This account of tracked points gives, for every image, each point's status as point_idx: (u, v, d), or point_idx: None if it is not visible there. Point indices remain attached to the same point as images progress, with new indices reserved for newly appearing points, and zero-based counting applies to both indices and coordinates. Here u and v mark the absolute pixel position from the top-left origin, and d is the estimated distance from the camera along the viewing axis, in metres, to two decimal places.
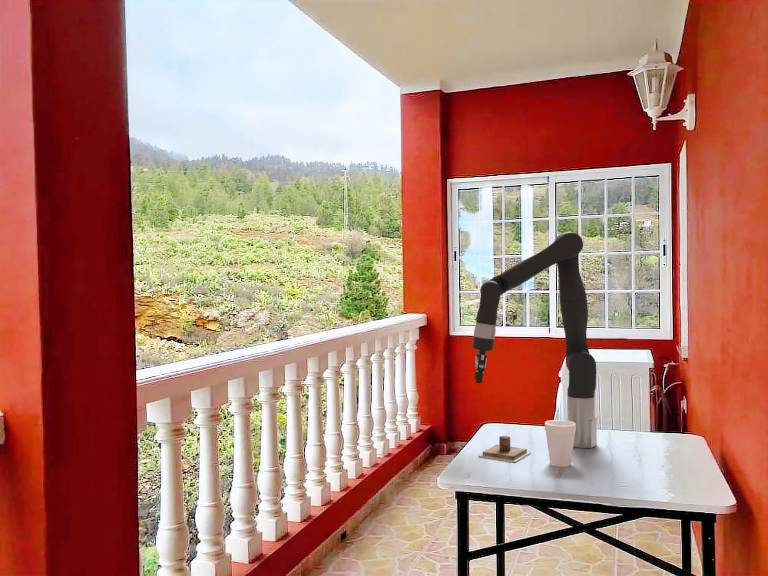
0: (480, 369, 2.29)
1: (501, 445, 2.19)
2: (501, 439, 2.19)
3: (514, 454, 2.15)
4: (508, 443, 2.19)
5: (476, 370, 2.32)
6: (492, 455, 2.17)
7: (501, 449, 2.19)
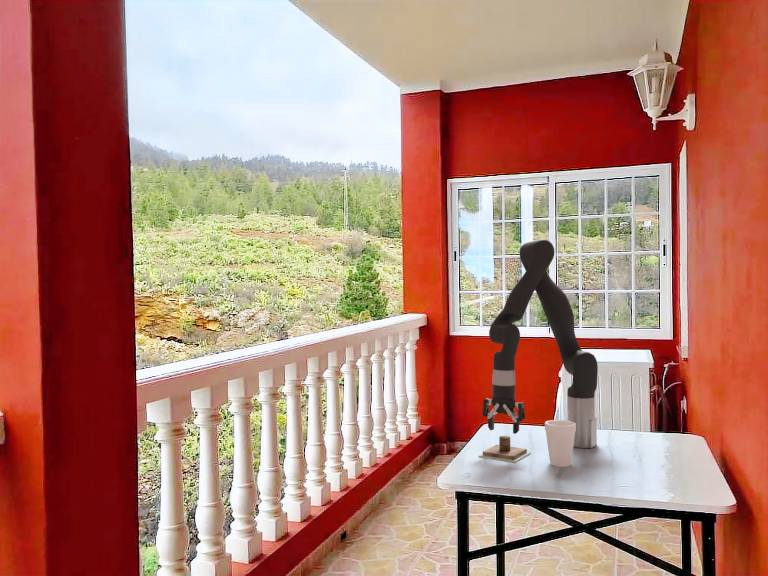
0: (523, 418, 2.16)
1: (501, 445, 2.19)
2: (501, 439, 2.19)
3: (514, 454, 2.15)
4: (508, 443, 2.19)
5: (515, 421, 2.17)
6: (492, 455, 2.17)
7: (501, 449, 2.19)
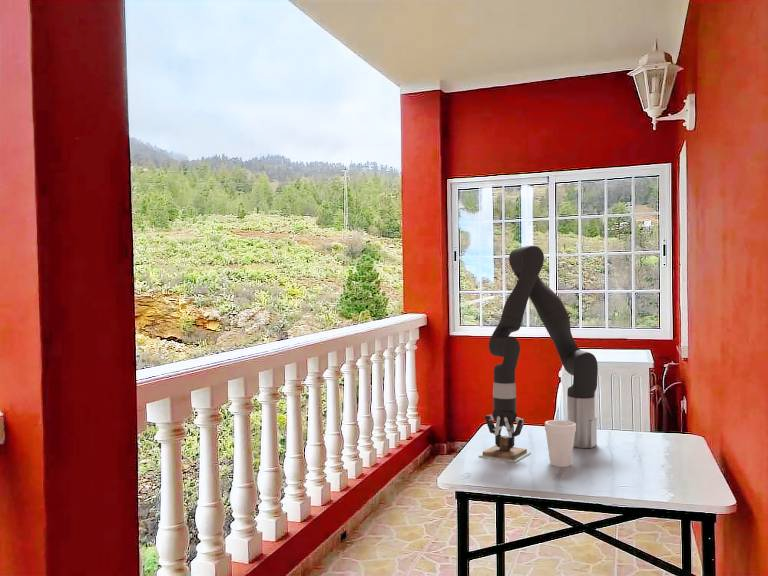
0: (518, 433, 2.18)
1: (501, 445, 2.19)
2: (501, 439, 2.19)
3: (514, 454, 2.15)
4: None
5: (510, 436, 2.18)
6: (492, 455, 2.17)
7: (501, 449, 2.19)
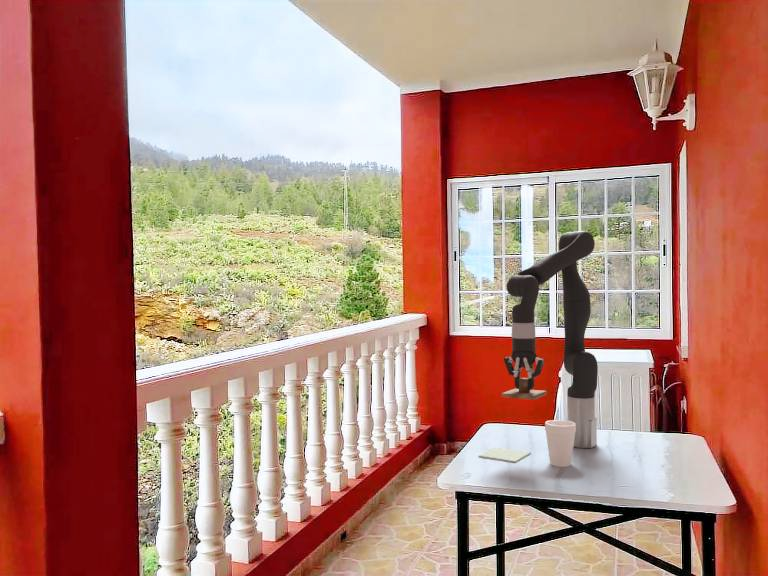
0: (537, 374, 2.14)
1: (520, 386, 2.15)
2: (520, 380, 2.15)
3: (534, 394, 2.11)
4: None
5: (530, 376, 2.14)
6: (511, 396, 2.13)
7: (520, 390, 2.15)
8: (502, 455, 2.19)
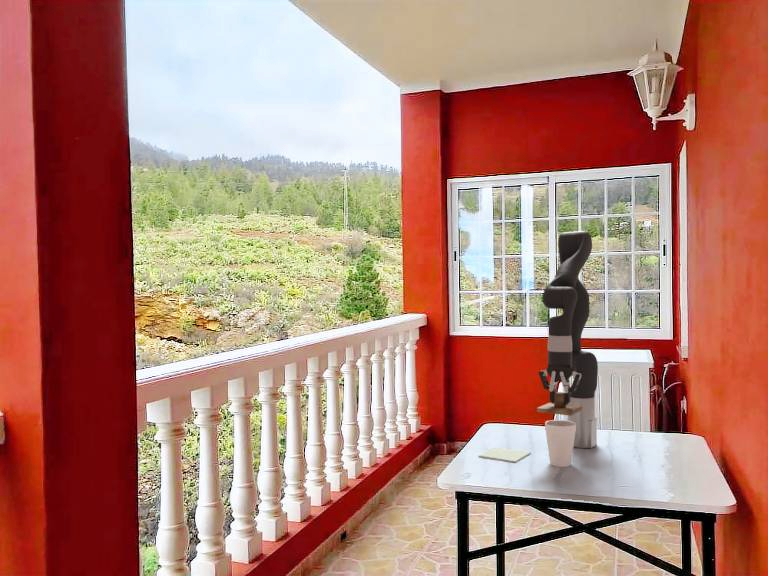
0: (574, 388, 2.07)
1: (556, 401, 2.08)
2: (556, 395, 2.08)
3: (571, 410, 2.04)
4: None
5: (566, 391, 2.07)
6: (547, 411, 2.06)
7: (556, 405, 2.08)
8: (502, 455, 2.19)
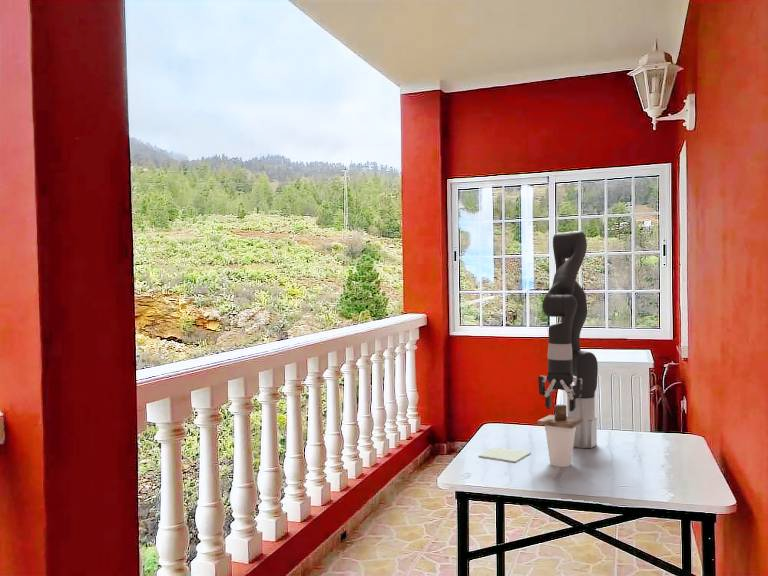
0: (580, 395, 2.06)
1: (557, 414, 2.08)
2: (557, 407, 2.08)
3: (572, 423, 2.04)
4: (564, 412, 2.08)
5: (571, 398, 2.06)
6: (548, 424, 2.06)
7: (557, 418, 2.08)
8: (502, 455, 2.19)
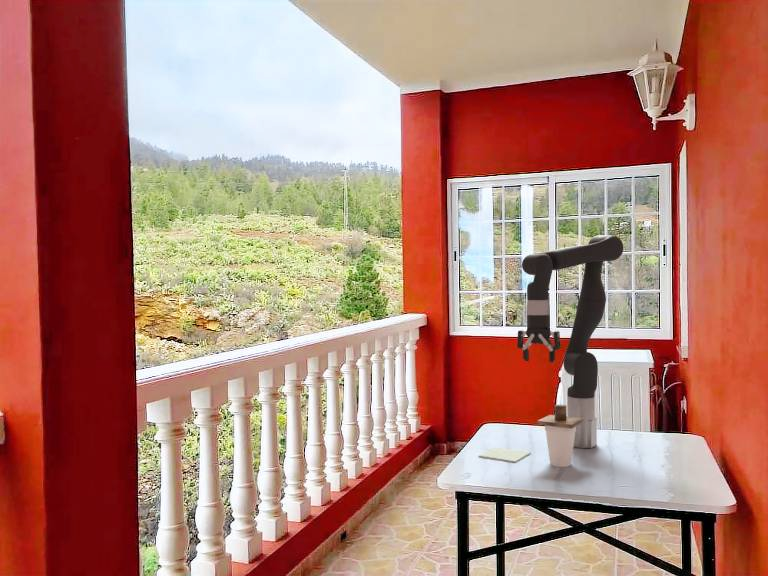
0: (559, 347, 2.18)
1: (557, 414, 2.08)
2: (557, 407, 2.08)
3: (572, 423, 2.04)
4: (564, 412, 2.08)
5: (551, 349, 2.18)
6: (548, 424, 2.06)
7: (557, 418, 2.08)
8: (502, 455, 2.19)
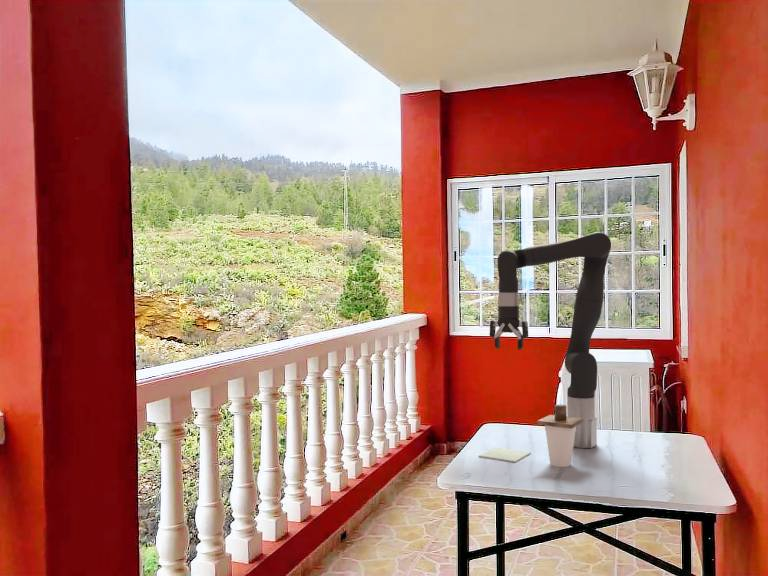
0: (526, 335, 2.39)
1: (557, 414, 2.08)
2: (557, 407, 2.08)
3: (572, 423, 2.04)
4: (564, 412, 2.08)
5: (519, 337, 2.39)
6: (548, 424, 2.06)
7: (557, 418, 2.08)
8: (502, 455, 2.19)
